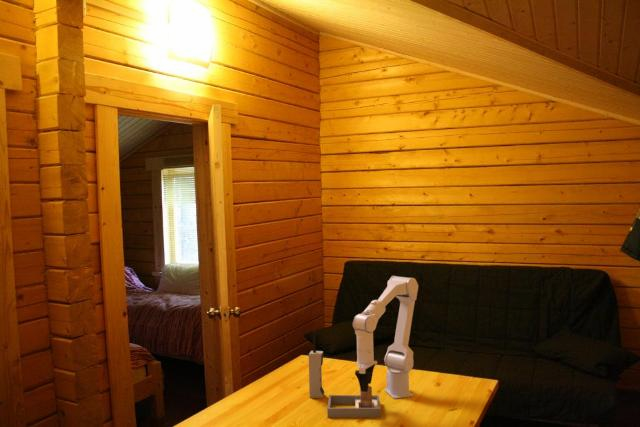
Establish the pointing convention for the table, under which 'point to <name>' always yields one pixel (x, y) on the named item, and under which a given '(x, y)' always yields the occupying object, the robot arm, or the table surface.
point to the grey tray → (355, 411)
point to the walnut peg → (366, 398)
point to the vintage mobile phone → (315, 372)
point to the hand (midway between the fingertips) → (366, 387)
